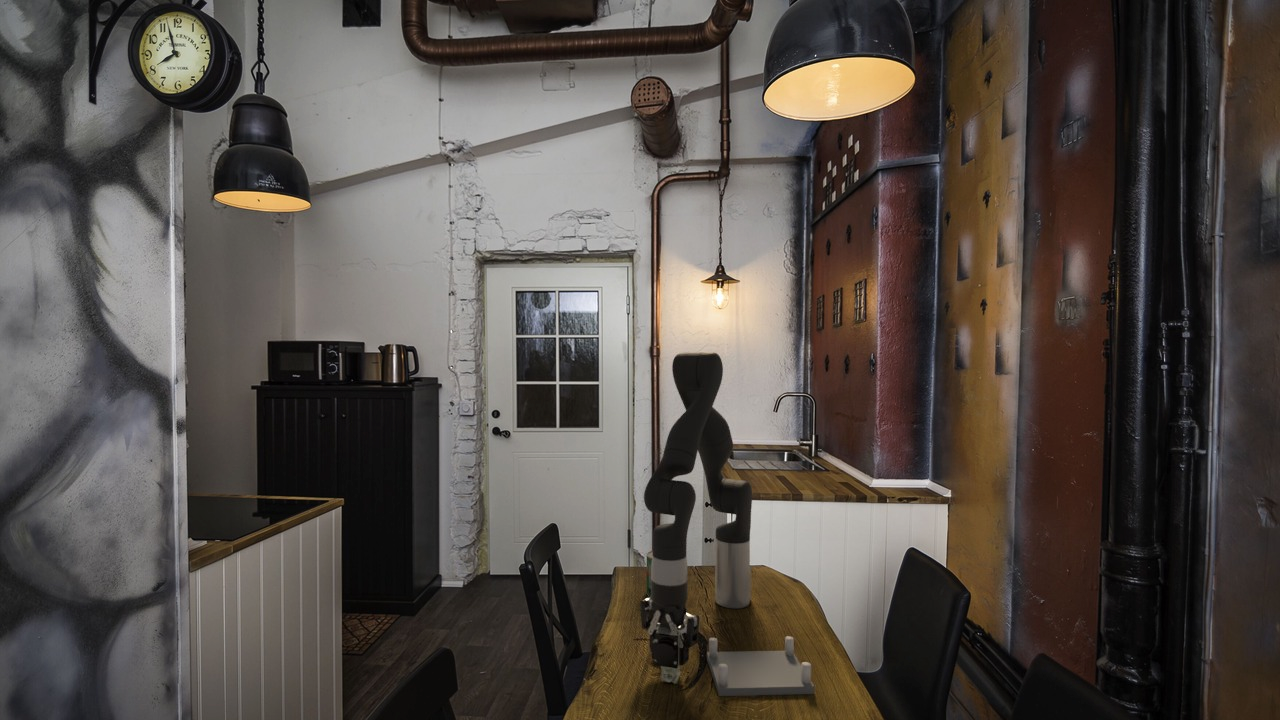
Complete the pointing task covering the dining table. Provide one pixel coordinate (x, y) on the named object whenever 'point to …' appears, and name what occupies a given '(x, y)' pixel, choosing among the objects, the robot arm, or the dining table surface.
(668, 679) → the pneumatic valve
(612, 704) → the dining table surface
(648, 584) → the canned tomato
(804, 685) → the peg board
